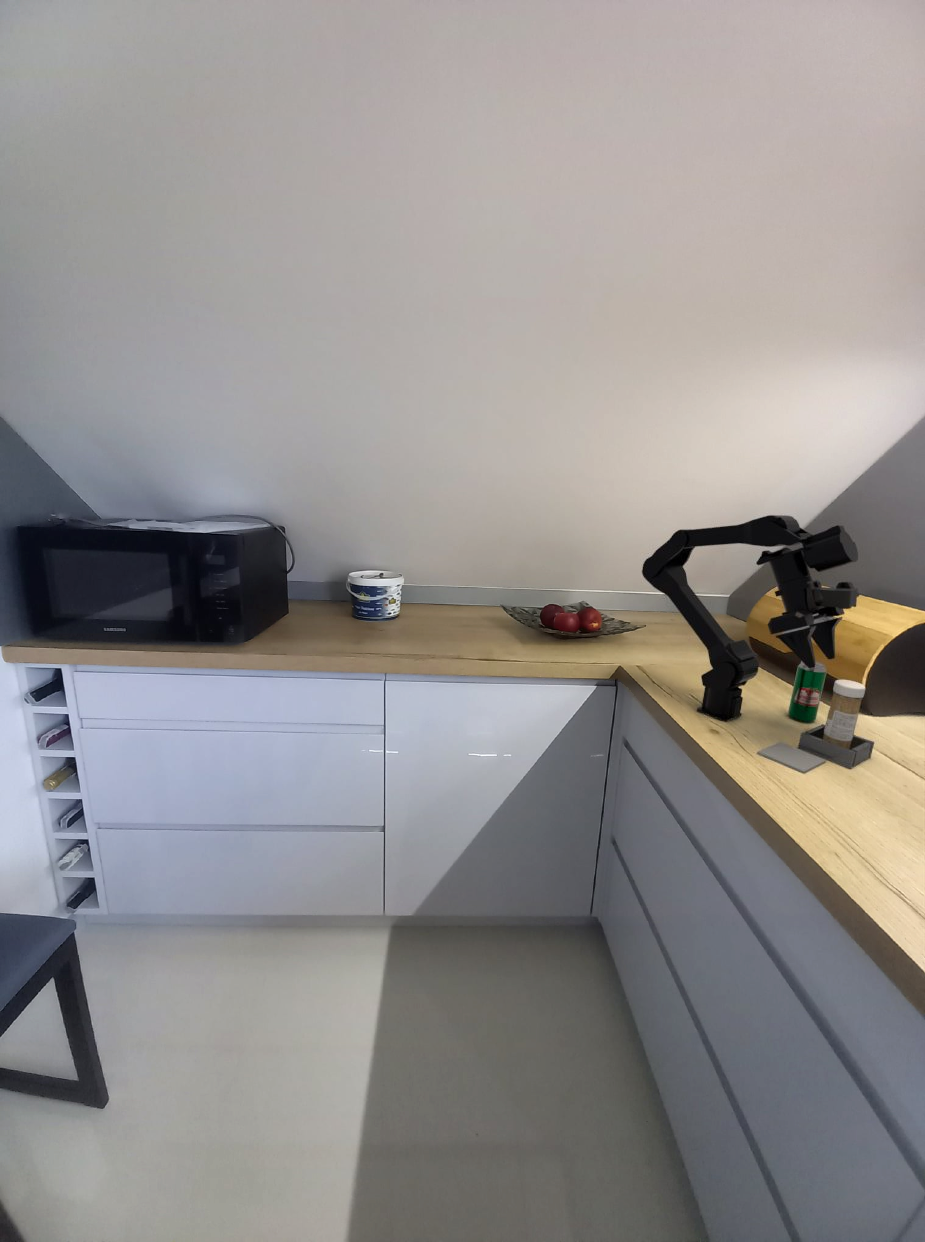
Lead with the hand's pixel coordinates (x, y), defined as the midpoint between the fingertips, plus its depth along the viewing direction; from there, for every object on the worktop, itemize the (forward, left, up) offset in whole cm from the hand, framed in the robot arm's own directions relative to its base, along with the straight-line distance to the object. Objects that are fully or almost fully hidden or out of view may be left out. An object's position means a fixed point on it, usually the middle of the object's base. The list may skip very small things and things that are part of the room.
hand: (822, 663), depth 102 cm
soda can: (-6, +13, -16) cm, 22 cm away
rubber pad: (+1, -8, -16) cm, 18 cm away
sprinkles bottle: (+5, +1, -16) cm, 17 cm away
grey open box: (+5, +1, -16) cm, 17 cm away
